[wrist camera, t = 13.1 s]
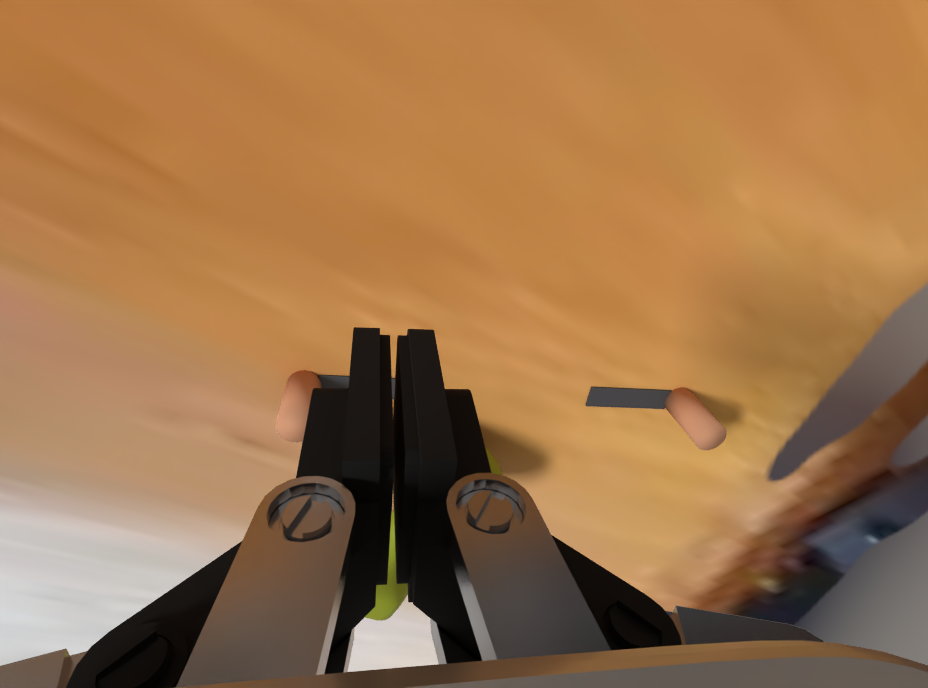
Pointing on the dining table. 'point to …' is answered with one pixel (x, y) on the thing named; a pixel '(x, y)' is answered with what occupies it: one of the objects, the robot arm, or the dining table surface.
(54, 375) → the dining table surface
